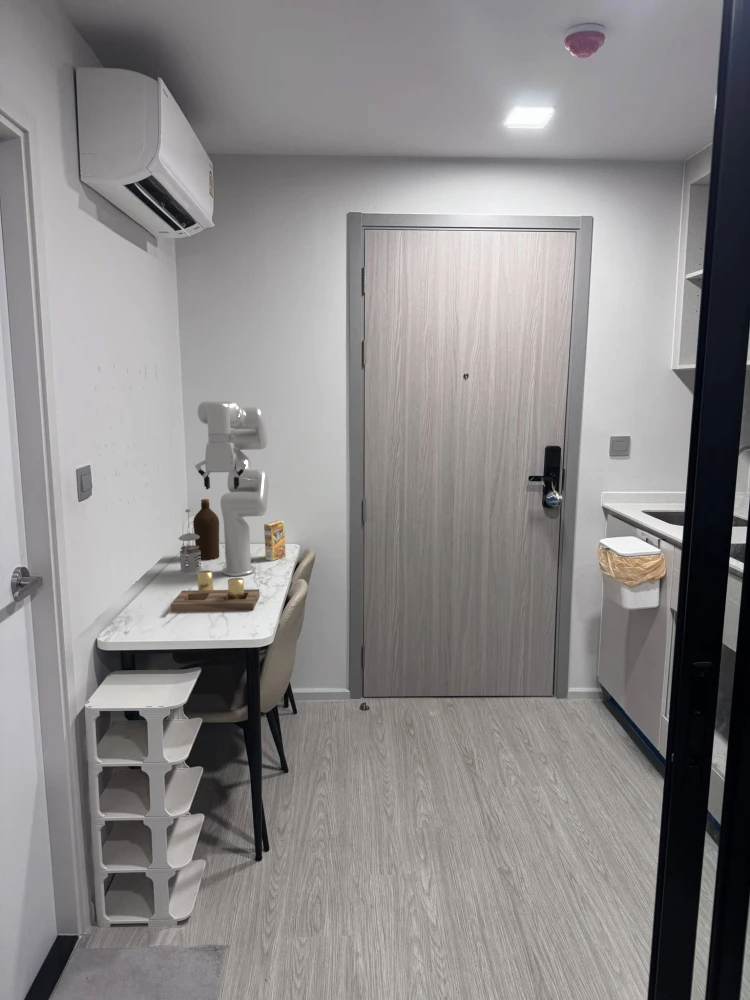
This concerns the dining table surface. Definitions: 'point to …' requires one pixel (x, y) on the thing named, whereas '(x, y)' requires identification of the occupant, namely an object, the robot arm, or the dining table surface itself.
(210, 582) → the billet
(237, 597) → the seated billet
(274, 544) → the candy box
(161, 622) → the dining table surface
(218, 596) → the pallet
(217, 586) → the dining table surface
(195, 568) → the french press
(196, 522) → the olive oil
